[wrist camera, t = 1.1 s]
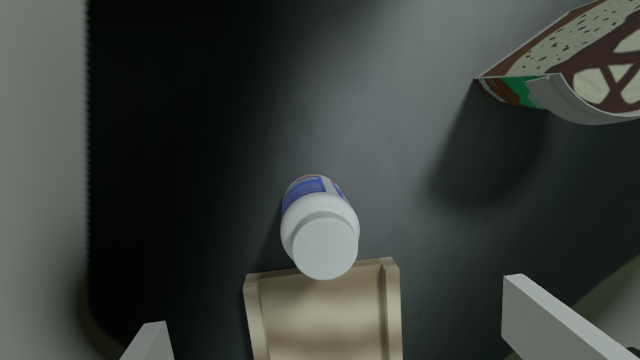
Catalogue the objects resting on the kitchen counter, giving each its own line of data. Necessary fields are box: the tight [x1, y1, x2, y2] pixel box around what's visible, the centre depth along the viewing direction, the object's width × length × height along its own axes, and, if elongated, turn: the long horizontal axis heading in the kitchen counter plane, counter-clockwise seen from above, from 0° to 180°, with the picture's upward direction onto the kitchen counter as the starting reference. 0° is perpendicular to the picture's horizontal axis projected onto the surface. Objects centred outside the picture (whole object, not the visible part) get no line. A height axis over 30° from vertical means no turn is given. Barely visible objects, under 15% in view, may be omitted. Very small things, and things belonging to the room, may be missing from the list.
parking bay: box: [243, 256, 403, 360], centre depth 29 cm, size 15×13×4 cm
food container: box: [474, 0, 640, 125], centre depth 23 cm, size 12×6×10 cm, turn 126°
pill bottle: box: [280, 174, 360, 280], centre depth 24 cm, size 5×5×10 cm
